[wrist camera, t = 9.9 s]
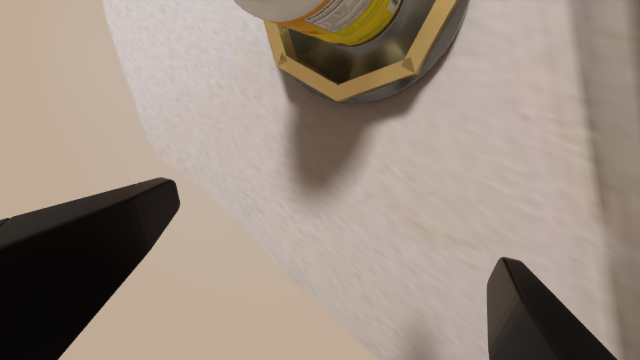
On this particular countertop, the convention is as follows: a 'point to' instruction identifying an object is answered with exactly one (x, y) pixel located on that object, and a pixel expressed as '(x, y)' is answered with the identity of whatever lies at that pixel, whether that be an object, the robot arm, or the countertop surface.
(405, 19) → the black and gold tray
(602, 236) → the countertop surface
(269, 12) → the supplement bottle
